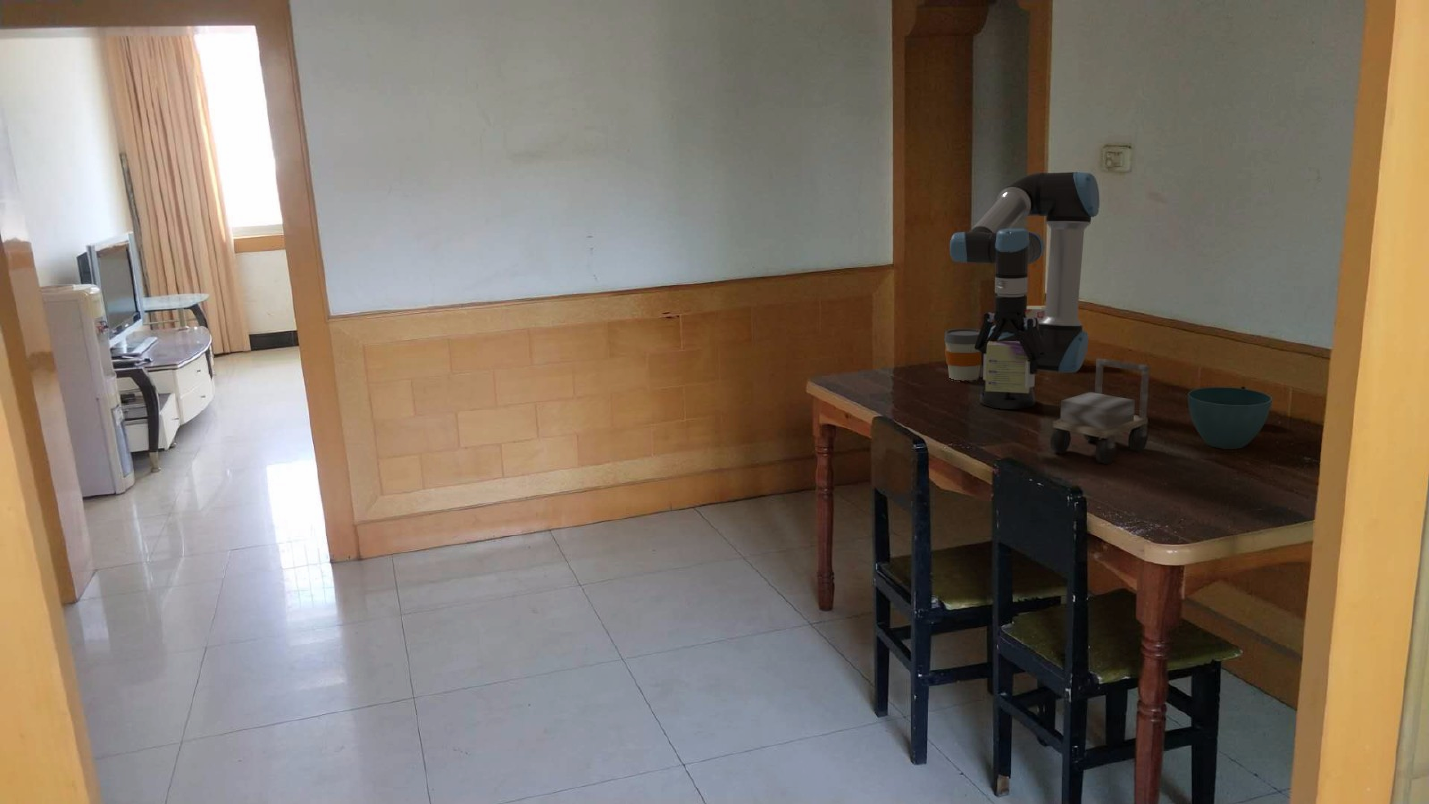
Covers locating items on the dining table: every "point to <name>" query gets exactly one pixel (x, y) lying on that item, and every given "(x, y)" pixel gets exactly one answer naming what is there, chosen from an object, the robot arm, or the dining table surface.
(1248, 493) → the dining table surface
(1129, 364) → the trolley
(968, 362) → the reusable coffee cup
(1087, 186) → the robot arm
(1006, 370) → the box
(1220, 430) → the teal bowl
